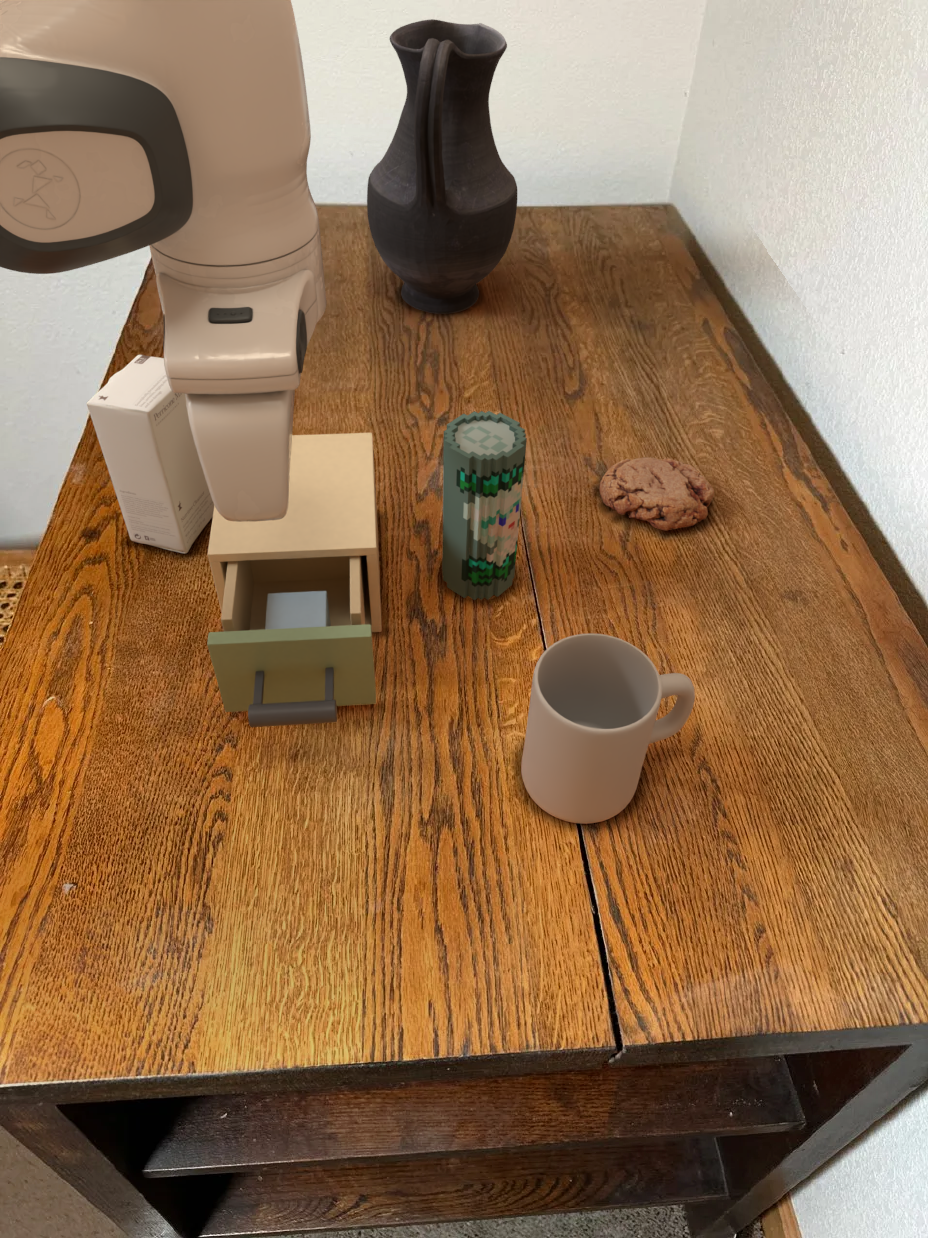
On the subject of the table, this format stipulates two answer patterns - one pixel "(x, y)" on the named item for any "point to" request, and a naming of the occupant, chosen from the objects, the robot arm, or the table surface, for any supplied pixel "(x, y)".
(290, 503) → the cabinet
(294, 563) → the drawer
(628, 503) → the cookie
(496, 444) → the can
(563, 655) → the mug
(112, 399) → the cosmetic box
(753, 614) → the table surface
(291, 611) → the block
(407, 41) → the pitcher
